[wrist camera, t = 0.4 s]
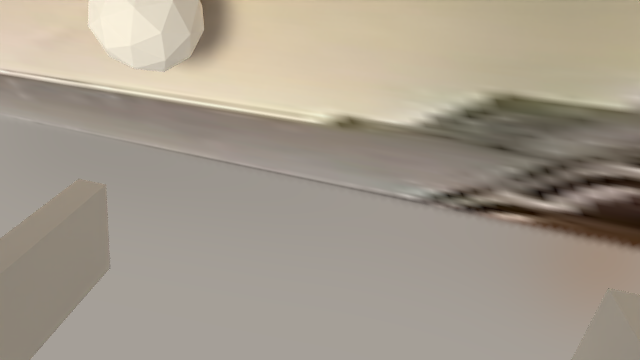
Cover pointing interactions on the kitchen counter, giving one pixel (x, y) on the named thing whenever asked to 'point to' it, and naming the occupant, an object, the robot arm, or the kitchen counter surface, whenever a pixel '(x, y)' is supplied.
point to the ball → (147, 30)
